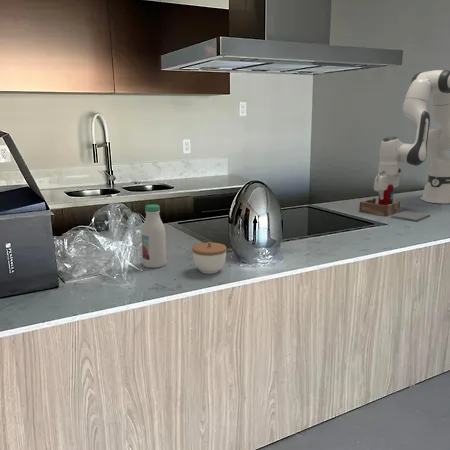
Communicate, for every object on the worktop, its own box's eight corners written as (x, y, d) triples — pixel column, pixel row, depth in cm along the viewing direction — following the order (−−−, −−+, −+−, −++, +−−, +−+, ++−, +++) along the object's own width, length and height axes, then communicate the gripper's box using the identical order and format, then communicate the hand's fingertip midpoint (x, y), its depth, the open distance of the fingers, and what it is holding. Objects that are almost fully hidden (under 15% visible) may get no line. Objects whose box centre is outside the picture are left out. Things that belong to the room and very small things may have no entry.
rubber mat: (405, 212, 228) (405, 210, 228) (429, 216, 220) (430, 214, 220) (391, 217, 218) (391, 215, 218) (416, 221, 210) (416, 219, 210)
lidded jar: (187, 268, 150) (186, 240, 147) (216, 263, 155) (215, 235, 153) (202, 278, 141) (202, 249, 138) (232, 272, 146) (232, 243, 144)
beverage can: (394, 208, 230) (395, 184, 227) (380, 208, 230) (382, 185, 227) (389, 205, 237) (391, 182, 234) (376, 206, 237) (377, 182, 234)
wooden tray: (373, 207, 240) (374, 198, 239) (399, 211, 230) (400, 201, 229) (359, 211, 230) (360, 202, 229) (385, 216, 221) (386, 206, 219)
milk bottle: (167, 260, 157) (165, 202, 152) (165, 268, 150) (163, 207, 145) (144, 261, 157) (141, 203, 152) (141, 268, 149) (138, 208, 145)
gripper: (383, 173, 220) (381, 202, 223) (403, 169, 234) (400, 196, 237) (371, 172, 224) (369, 200, 227) (391, 167, 238) (389, 194, 241)
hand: (385, 198), depth 232 cm, fingers closed on beverage can, 7 cm apart
